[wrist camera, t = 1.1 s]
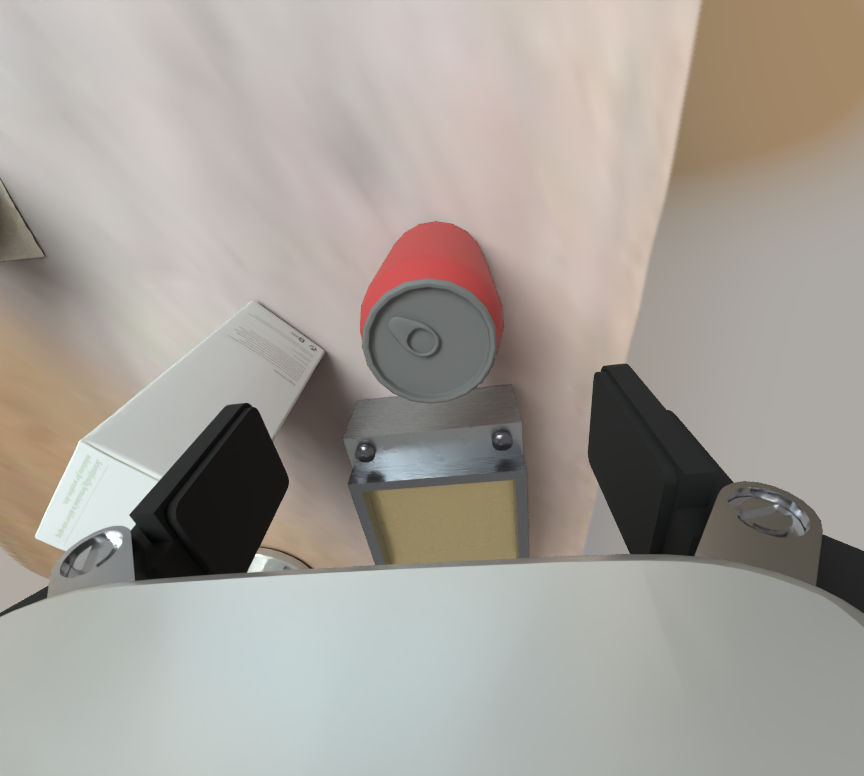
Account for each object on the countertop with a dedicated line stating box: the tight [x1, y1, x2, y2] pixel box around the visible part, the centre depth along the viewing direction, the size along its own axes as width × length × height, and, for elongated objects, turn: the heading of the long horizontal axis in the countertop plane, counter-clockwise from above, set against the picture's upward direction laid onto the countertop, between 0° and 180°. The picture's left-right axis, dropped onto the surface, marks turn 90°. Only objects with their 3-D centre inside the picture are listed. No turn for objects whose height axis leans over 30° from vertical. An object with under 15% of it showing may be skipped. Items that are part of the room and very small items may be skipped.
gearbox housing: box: [343, 385, 529, 565], centre depth 33 cm, size 18×12×7 cm
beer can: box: [360, 221, 504, 404], centre depth 21 cm, size 7×7×12 cm
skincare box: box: [35, 300, 325, 551], centre depth 24 cm, size 8×7×16 cm
